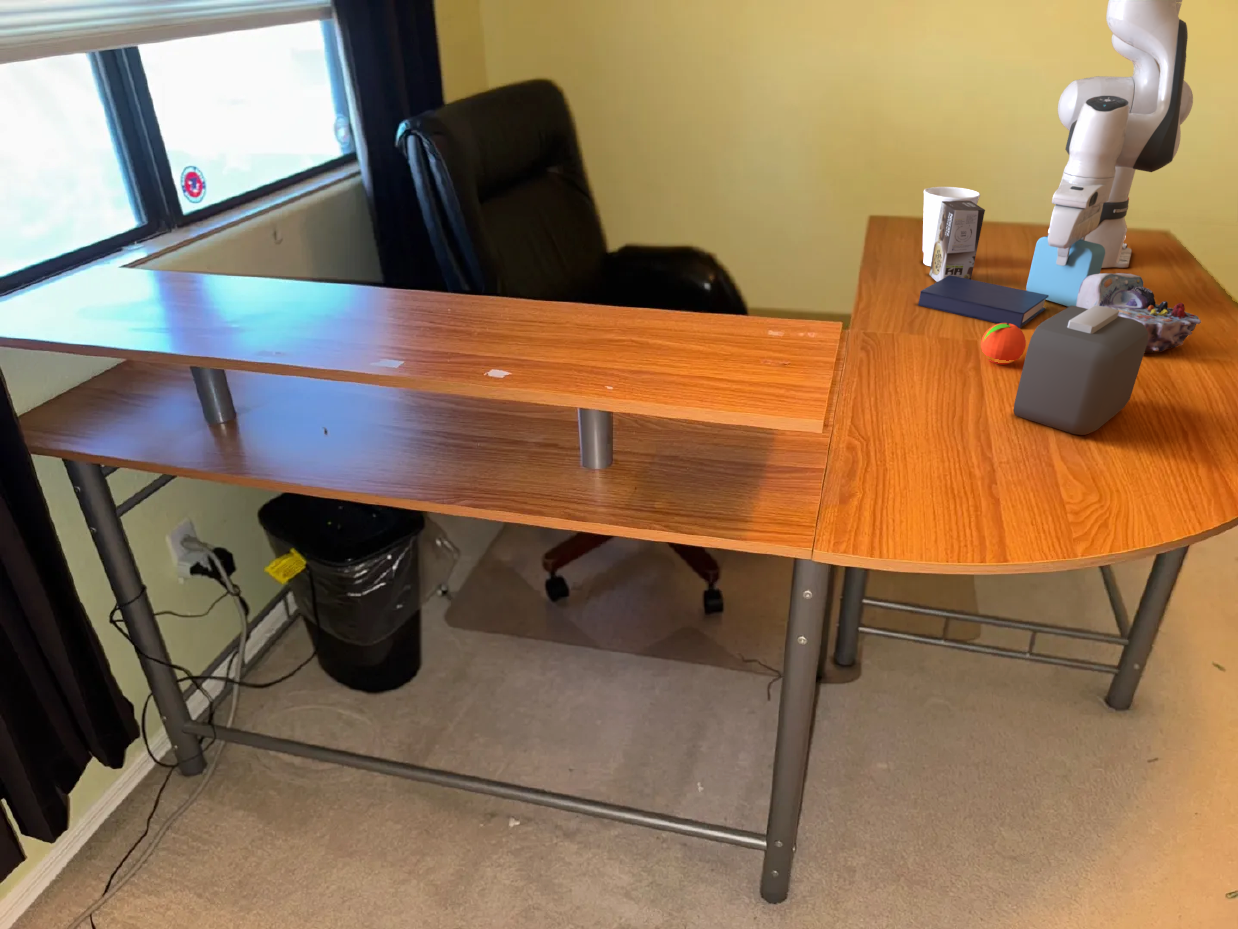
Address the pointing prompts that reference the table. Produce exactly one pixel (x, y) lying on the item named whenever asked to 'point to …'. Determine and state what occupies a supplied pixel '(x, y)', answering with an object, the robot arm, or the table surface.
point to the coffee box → (956, 239)
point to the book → (983, 300)
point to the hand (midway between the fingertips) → (1066, 260)
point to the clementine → (1003, 342)
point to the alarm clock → (1080, 369)
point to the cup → (932, 212)
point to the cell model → (1138, 308)
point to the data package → (1063, 270)
